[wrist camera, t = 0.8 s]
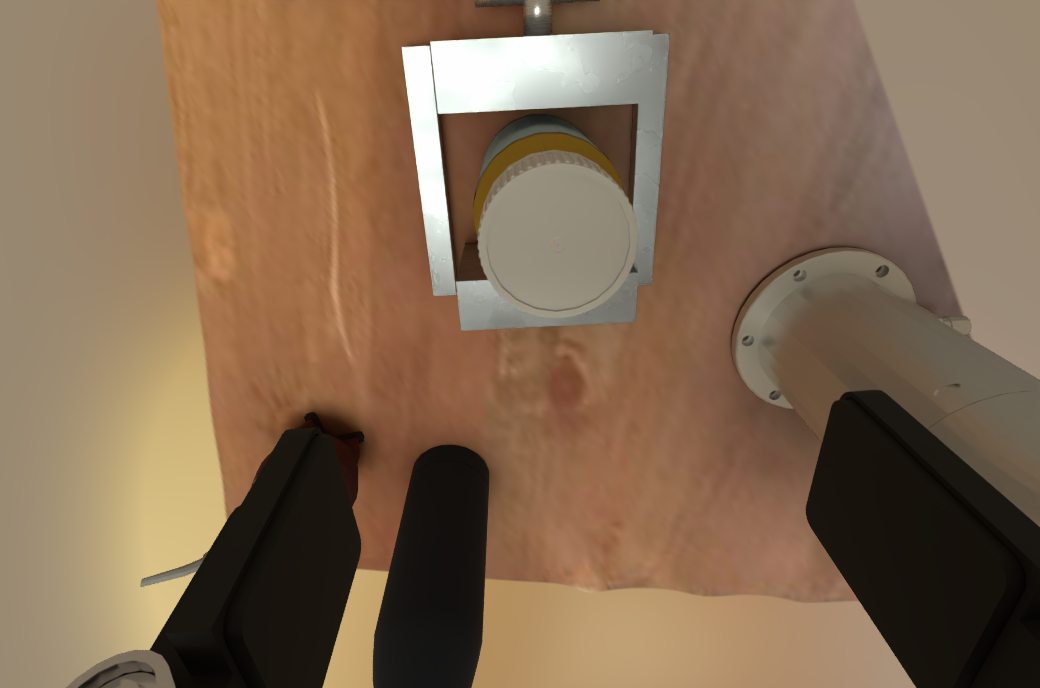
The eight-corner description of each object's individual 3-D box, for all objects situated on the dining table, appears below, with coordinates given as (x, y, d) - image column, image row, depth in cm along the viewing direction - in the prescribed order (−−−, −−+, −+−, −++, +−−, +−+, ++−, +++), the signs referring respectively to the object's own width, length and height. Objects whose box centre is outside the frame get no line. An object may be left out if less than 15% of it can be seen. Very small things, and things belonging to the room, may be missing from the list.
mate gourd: (385, 466, 44) (332, 638, 31) (297, 487, 45) (210, 664, 32) (347, 392, 41) (269, 551, 28) (253, 417, 42) (134, 583, 29)
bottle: (480, 113, 32) (461, 150, 19) (597, 112, 32) (660, 148, 19) (484, 229, 35) (470, 329, 22) (590, 227, 35) (640, 327, 22)
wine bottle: (493, 448, 44) (473, 1047, 17) (484, 507, 47) (455, 1096, 20) (414, 440, 43) (265, 1046, 17) (410, 500, 46) (278, 1096, 20)
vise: (666, -18, 29) (709, -39, 23) (646, 276, 37) (674, 320, 31) (399, -4, 29) (370, -22, 23) (436, 287, 37) (422, 332, 31)
